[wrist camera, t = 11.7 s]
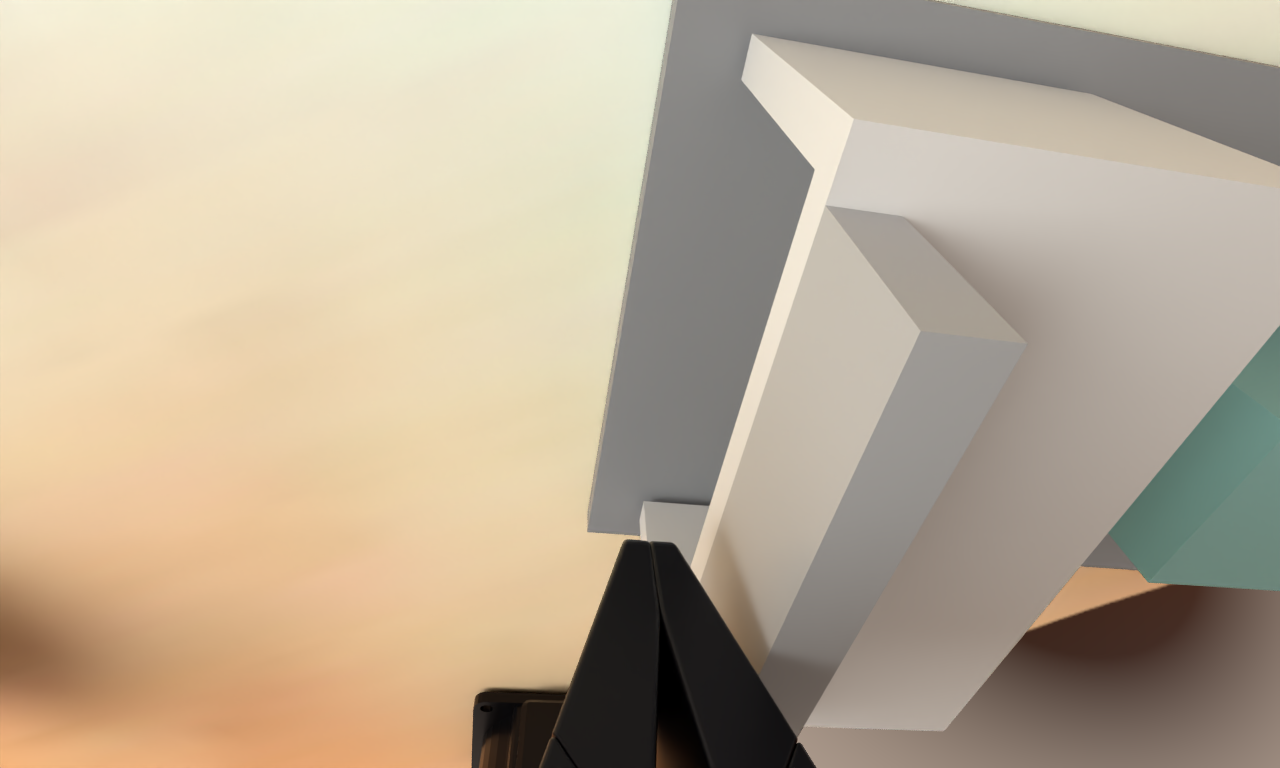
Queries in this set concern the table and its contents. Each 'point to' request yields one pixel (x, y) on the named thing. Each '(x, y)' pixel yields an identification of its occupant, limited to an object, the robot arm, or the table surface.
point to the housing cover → (963, 370)
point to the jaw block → (1217, 493)
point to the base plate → (777, 189)
